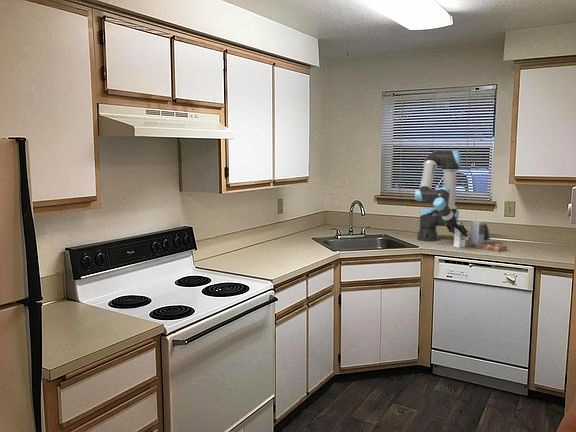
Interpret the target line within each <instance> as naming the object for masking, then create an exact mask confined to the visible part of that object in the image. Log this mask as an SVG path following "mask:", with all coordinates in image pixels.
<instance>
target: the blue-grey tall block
mask: <svg viewBox="0 0 576 432" xmlns="http://www.w3.org/2000/svg"><path fill="white" fill-rule="evenodd" d="M485 223H486V222H485V221H481V220H474V221H471V225H470V243H471V244H477V245H479V244H484V234H485Z"/></svg>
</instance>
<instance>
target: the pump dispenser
mask: <svg viewBox="0 0 576 432" xmlns="http://www.w3.org/2000/svg"><path fill="white" fill-rule="evenodd" d="M490 235H491V234H490V231H489V227H488V225H487V223H486V222H485V234H484V243H485V244H489V242H490V239H491V238H490V237H491V236H490Z"/></svg>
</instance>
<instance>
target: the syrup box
mask: <svg viewBox="0 0 576 432" xmlns="http://www.w3.org/2000/svg"><path fill="white" fill-rule="evenodd" d="M463 226H464V227H465V228H466V229H467V226H465V225H463ZM466 242H467V241H466V240H465V239H464V237H463V236H462V233H461V232H460V231H459V230H458V229H456V228H455V227H454V234H453V242H452V243H453V245H452V247H453V248H459V249H461V248H462V249H463V248H466V245H467V243H466Z"/></svg>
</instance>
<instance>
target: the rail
mask: <svg viewBox="0 0 576 432" xmlns="http://www.w3.org/2000/svg"><path fill="white" fill-rule="evenodd" d="M467 247H469V248H475V249H480V250H484V251H485V250H486V251H491V252H497V253H500V252H507V251H508V245H505V244H500V243H490V244H489V243H486V244H485V243H484V244H479V245H477V244H471V242H469V243H467Z"/></svg>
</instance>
